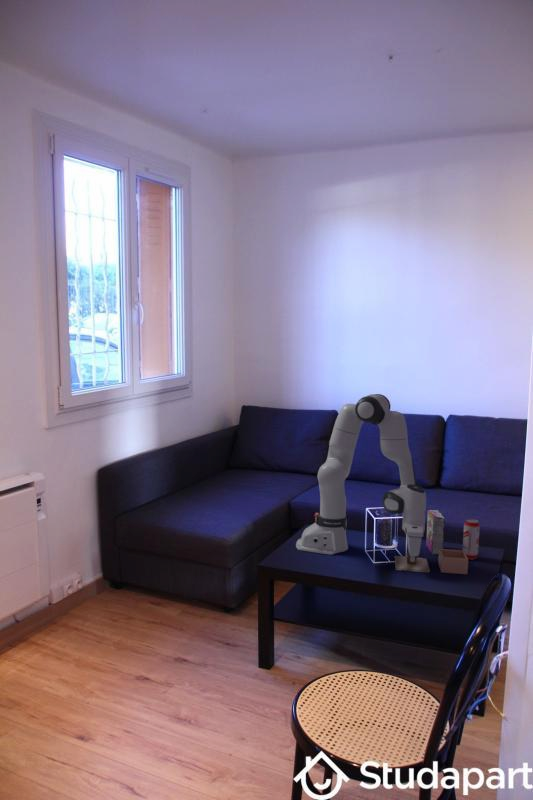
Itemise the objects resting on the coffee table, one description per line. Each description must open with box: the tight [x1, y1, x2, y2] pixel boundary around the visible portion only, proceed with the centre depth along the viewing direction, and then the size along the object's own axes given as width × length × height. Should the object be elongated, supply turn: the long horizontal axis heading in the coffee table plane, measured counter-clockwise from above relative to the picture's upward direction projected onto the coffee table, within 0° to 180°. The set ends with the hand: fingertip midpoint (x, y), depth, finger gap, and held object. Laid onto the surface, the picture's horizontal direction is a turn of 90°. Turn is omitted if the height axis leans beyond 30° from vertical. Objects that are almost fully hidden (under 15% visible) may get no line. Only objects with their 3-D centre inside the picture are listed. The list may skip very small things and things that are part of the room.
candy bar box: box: [425, 509, 446, 556], centre depth 271 cm, size 11×5×16 cm, turn 179°
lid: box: [393, 550, 431, 574], centre depth 254 cm, size 13×13×5 cm
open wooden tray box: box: [437, 548, 469, 575], centre depth 252 cm, size 10×10×6 cm
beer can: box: [461, 518, 481, 561], centre depth 263 cm, size 6×6×16 cm
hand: (411, 558), depth 254 cm, fingers closed on lid, 3 cm apart
